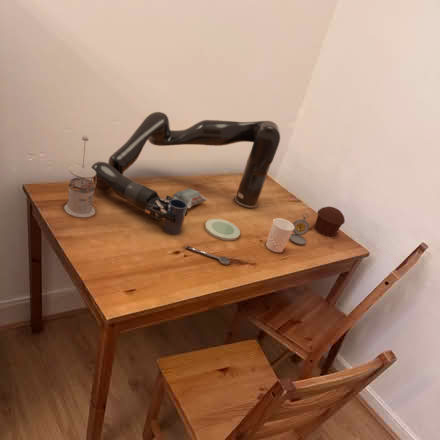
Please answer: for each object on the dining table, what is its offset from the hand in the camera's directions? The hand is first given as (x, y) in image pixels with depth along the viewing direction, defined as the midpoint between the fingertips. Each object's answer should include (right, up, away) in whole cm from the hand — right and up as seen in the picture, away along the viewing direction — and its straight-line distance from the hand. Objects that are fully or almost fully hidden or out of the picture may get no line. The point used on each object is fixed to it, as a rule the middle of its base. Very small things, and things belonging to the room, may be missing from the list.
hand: (181, 217), depth 145 cm
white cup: (+33, -9, +13) cm, 36 cm away
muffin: (+56, +1, +36) cm, 67 cm away
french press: (-33, +3, -1) cm, 33 cm away
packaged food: (+1, +9, +22) cm, 24 cm away
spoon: (+9, -13, -3) cm, 16 cm away
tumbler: (-4, -3, +4) cm, 6 cm away
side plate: (+14, -3, +13) cm, 19 cm away
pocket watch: (+43, -5, +23) cm, 49 cm away
